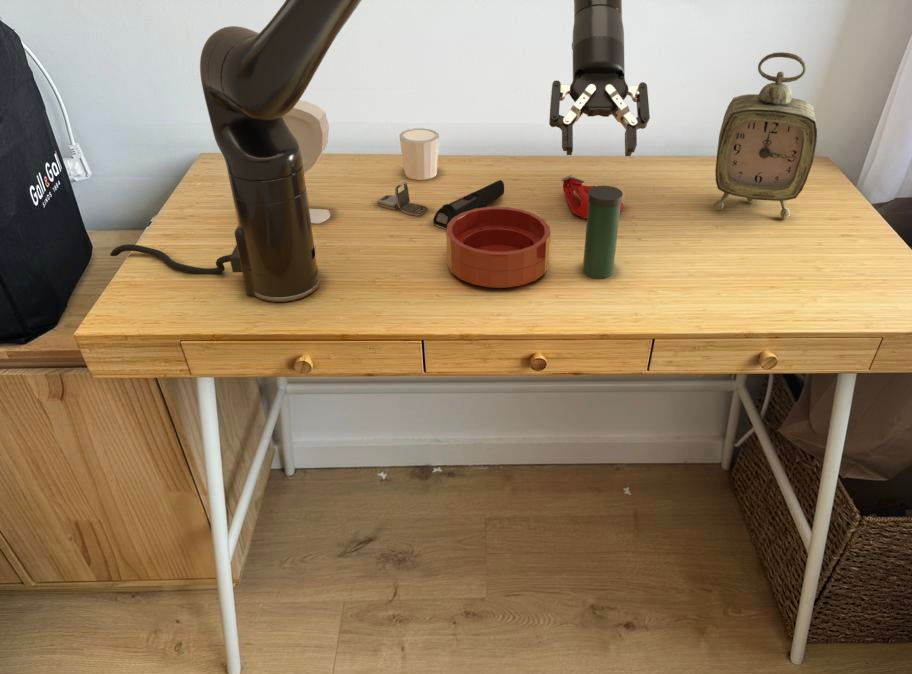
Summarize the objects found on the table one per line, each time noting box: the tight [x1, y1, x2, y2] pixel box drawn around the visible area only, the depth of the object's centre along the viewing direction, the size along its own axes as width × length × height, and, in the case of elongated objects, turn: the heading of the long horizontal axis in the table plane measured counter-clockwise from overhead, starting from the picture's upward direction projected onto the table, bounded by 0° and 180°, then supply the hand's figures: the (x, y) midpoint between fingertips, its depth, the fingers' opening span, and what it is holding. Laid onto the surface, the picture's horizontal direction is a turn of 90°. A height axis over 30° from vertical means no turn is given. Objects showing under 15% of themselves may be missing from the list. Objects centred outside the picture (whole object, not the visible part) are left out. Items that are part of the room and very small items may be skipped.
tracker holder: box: [560, 175, 624, 219], centre depth 134 cm, size 12×4×10 cm
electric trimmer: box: [432, 179, 505, 231], centre depth 132 cm, size 4×16×3 cm, turn 142°
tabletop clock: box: [713, 51, 818, 219], centre depth 129 cm, size 14×9×25 cm, turn 76°
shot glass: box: [399, 127, 440, 181], centre depth 142 cm, size 7×7×7 cm
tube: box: [582, 185, 624, 280], centre depth 114 cm, size 5×5×12 cm
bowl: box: [445, 206, 551, 289], centre depth 117 cm, size 15×15×6 cm
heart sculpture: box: [283, 99, 331, 225], centre depth 125 cm, size 16×5×18 cm, turn 85°
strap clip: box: [376, 181, 429, 217], centre depth 132 cm, size 8×3×4 cm, turn 62°
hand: (599, 153), depth 117 cm, fingers open, 8 cm apart
